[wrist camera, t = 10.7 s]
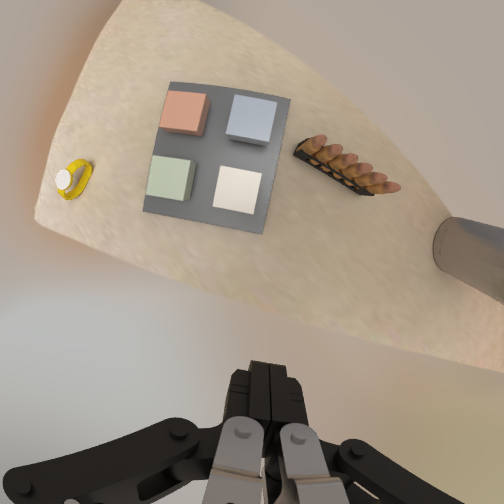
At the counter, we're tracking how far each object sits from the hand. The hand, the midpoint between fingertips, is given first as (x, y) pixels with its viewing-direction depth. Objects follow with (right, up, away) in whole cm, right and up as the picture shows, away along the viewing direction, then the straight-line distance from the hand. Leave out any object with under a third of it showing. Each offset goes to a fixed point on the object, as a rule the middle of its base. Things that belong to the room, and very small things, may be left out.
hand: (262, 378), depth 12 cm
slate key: (0, +20, +19) cm, 28 cm away
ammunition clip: (+10, +16, +24) cm, 31 cm away
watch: (-25, +16, +24) cm, 38 cm away
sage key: (-10, +15, +22) cm, 28 cm away
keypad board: (-5, +18, +23) cm, 30 cm away
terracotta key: (-8, +22, +20) cm, 31 cm away
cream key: (-2, +13, +23) cm, 26 cm away
